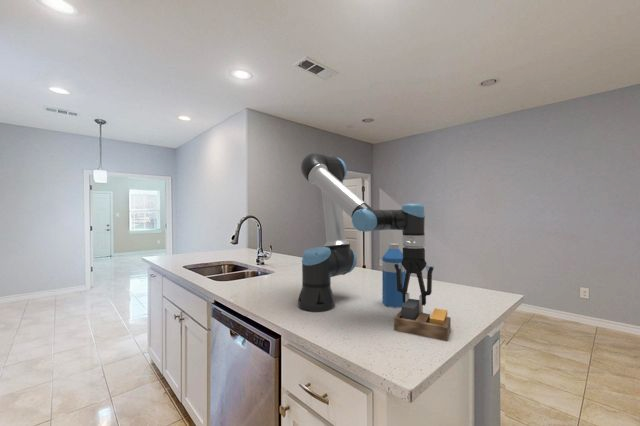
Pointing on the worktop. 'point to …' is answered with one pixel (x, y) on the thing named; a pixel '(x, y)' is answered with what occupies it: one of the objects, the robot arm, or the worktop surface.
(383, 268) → the blue water bottle
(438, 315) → the tall orange brick
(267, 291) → the worktop surface
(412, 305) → the tall gray prism
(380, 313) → the worktop surface
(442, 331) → the bronze desk organizer
